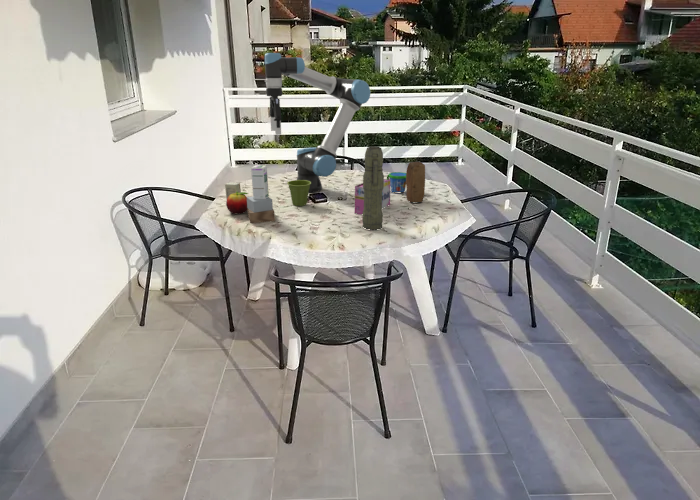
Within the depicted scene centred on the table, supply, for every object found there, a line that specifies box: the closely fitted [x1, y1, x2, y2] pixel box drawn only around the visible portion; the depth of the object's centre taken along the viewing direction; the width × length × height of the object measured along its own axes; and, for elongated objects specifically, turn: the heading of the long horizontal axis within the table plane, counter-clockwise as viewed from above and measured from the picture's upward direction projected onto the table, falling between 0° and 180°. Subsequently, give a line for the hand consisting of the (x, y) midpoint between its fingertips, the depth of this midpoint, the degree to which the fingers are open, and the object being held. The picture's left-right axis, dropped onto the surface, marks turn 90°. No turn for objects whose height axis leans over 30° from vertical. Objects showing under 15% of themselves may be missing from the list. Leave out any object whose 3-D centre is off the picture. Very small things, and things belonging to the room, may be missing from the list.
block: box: [405, 161, 426, 203], centre depth 267 cm, size 11×8×20 cm
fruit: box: [225, 191, 249, 215], centre depth 247 cm, size 11×11×10 cm
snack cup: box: [386, 171, 407, 193], centre depth 286 cm, size 16×10×10 cm
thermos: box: [361, 145, 385, 231], centre depth 223 cm, size 9×12×35 cm
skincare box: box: [224, 181, 242, 200], centre depth 255 cm, size 6×4×12 cm
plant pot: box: [286, 179, 311, 207], centre depth 261 cm, size 12×12×11 cm
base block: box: [247, 208, 276, 224], centre depth 240 cm, size 11×11×5 cm
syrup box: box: [250, 164, 270, 199], centre depth 235 cm, size 6×6×14 cm
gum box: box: [354, 178, 391, 215], centre depth 254 cm, size 24×8×14 cm, turn 149°
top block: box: [246, 196, 274, 212], centre depth 238 cm, size 9×9×5 cm
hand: (276, 132), depth 256 cm, fingers open, 13 cm apart
